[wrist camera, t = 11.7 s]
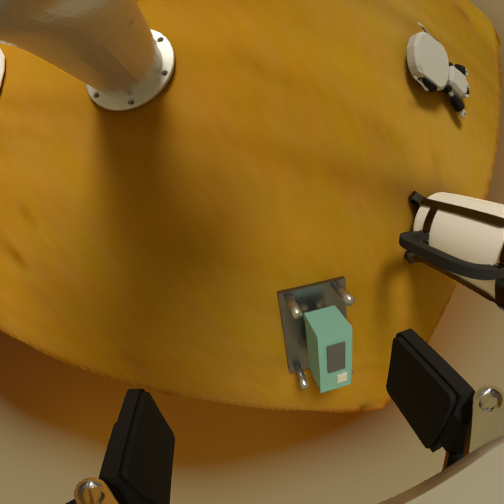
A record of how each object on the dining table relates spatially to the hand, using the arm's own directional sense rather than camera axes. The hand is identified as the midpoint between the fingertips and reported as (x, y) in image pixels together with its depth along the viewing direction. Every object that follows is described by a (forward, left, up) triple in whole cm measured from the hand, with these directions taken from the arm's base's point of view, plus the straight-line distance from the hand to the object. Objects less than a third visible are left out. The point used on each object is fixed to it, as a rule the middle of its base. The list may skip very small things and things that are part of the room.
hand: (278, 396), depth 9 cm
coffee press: (+5, +30, -28) cm, 42 cm away
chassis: (+17, +9, -28) cm, 34 cm away
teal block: (+17, +9, -25) cm, 32 cm away
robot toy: (-21, +37, -29) cm, 52 cm away
